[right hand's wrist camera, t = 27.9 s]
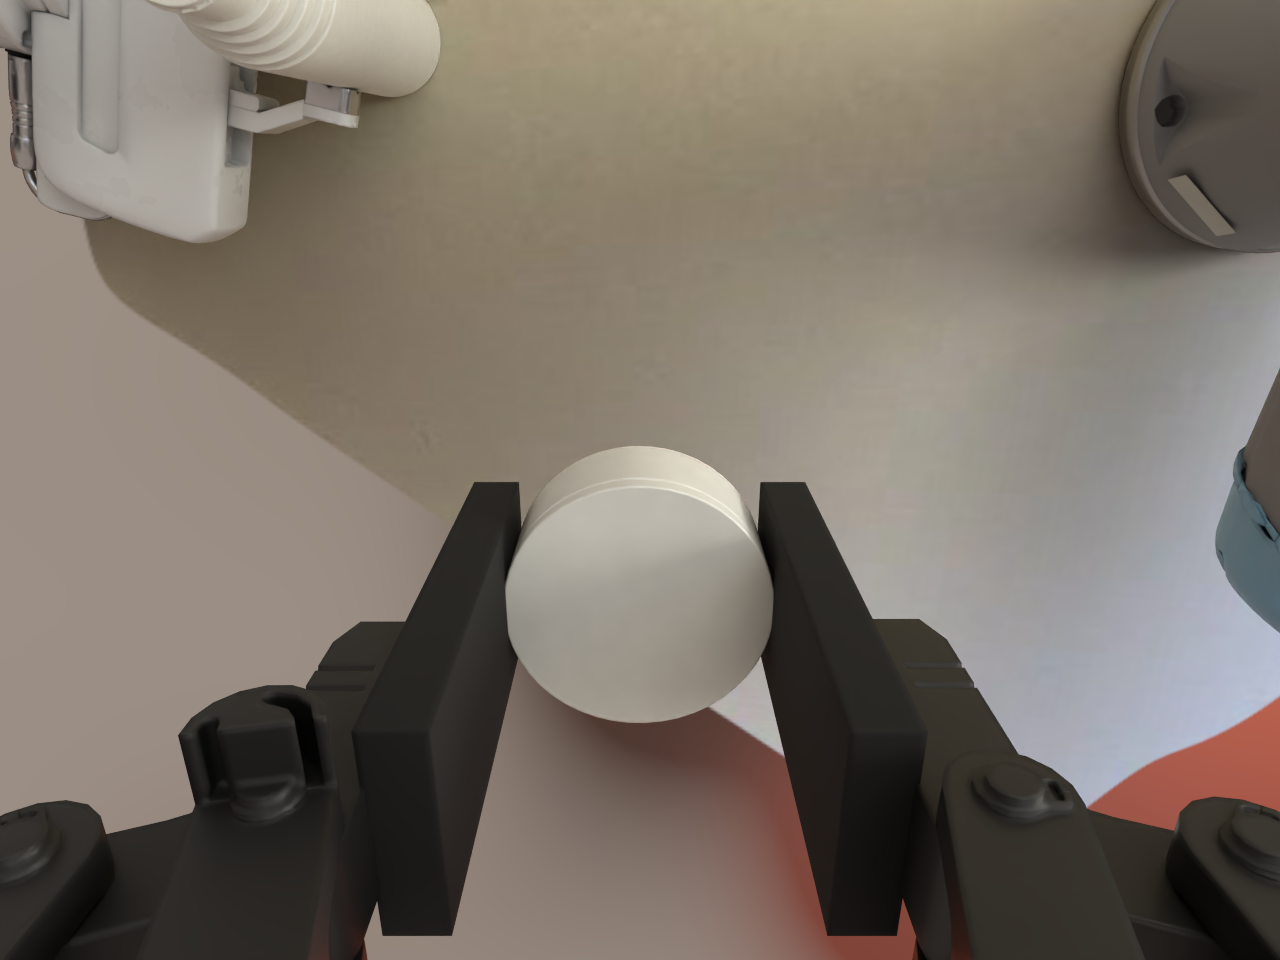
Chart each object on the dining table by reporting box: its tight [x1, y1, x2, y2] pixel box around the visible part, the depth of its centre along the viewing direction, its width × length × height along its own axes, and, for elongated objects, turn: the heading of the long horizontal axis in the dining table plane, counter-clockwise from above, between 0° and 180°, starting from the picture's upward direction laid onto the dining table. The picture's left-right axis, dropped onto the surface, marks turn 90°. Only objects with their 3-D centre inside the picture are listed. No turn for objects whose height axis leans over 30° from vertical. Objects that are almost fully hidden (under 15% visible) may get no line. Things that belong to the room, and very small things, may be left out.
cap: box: [505, 446, 774, 723], centre depth 14 cm, size 4×4×2 cm
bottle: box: [145, 0, 441, 97], centre depth 30 cm, size 5×5×20 cm
